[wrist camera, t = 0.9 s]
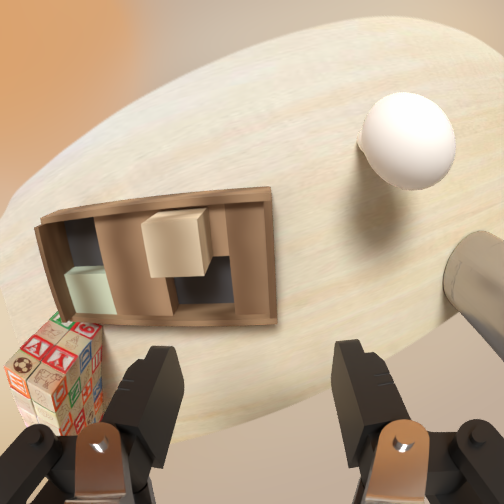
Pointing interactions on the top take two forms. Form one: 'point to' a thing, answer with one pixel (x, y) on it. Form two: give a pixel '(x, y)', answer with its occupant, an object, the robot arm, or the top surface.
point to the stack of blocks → (59, 376)
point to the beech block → (178, 242)
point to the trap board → (137, 270)
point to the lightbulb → (408, 141)
